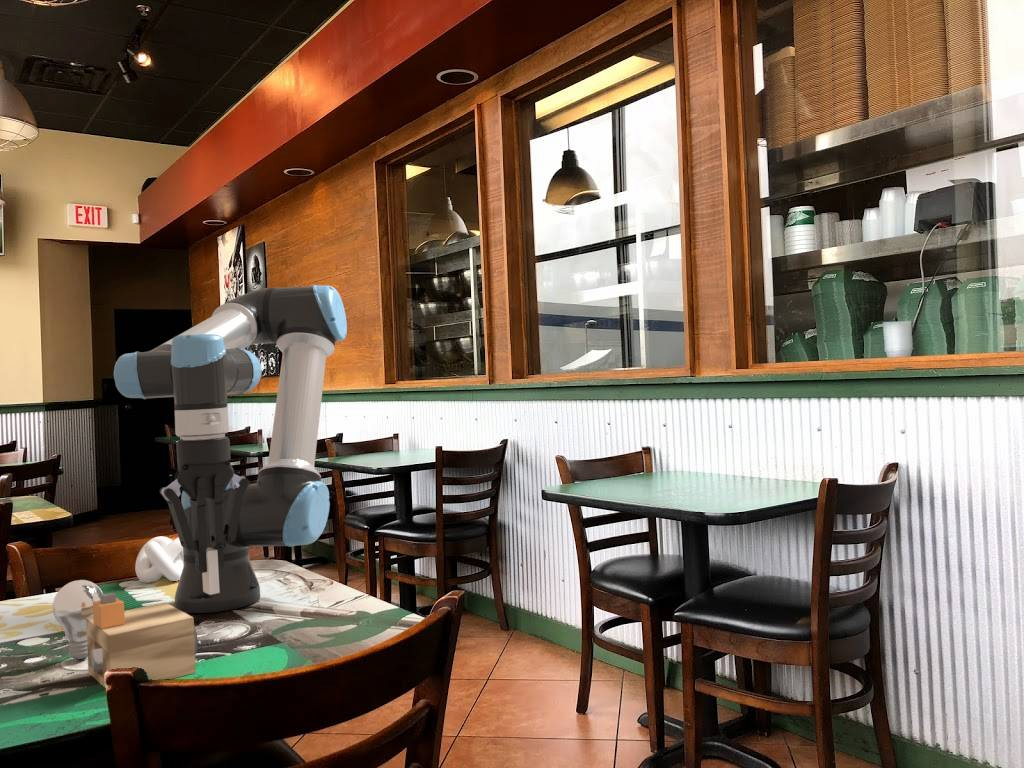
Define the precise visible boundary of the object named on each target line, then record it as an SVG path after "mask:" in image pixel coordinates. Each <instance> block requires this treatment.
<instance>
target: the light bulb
mask: <svg viewBox="0 0 1024 768" xmlns="http://www.w3.org/2000/svg"><path fill="white" fill-rule="evenodd" d="M102 594H104V592H103V591H102V588H101V587H99V585H97V584H96V583H94V582H93V581H90V580H88V579H87V580H86V579H79V580H73V581H70V582H68V583H66V584H65V585H63V586H62V587H61V588H60V589H59V590H58V591H57V593H56V595H55V596H54V598H53V601H52V602H53V603H52V612H53V615H54V618H55V620H56V621H57V622H58V624H59V625H60V626H61V628H62V629H63V631H64V635H65V638H66V640H67V641H68V644H67V647H68V648H67V650H68V655H69V656H70V657H71V658H72V659H74V660H75V661H77V662H82V661H85V660H87V659H88V649H87V624H86V618H90V617H93V601H99V600H100V595H102Z"/></svg>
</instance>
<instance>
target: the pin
mask: <svg viewBox="0 0 1024 768" xmlns="http://www.w3.org/2000/svg"><path fill="white" fill-rule="evenodd" d="M194 640H195V656H196V655H197V652H198V644H199V643H198V642H199V641H198V634H197V630H196V627H195V625H194ZM91 663H92V668H93V670H94V672H98V671H102V670H103V654H102V648H99V649H94V650H92V652H91Z"/></svg>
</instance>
